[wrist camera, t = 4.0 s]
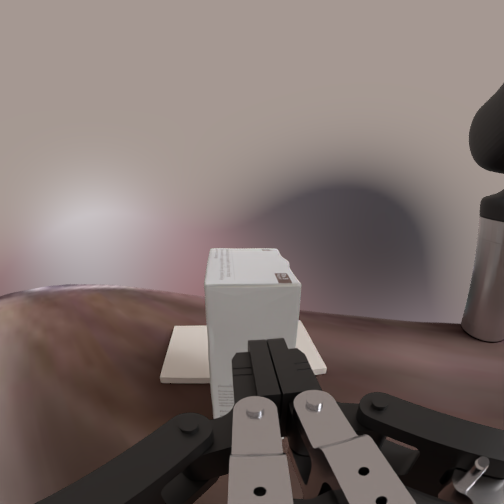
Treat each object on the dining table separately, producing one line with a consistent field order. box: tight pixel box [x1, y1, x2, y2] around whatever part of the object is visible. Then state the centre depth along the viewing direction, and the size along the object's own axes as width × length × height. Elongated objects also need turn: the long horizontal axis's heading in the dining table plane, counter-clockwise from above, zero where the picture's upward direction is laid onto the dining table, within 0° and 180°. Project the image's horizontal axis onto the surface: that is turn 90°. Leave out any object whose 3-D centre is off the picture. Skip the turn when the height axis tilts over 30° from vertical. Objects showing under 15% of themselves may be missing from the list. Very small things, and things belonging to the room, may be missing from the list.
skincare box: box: [204, 248, 301, 440], centre depth 22 cm, size 8×6×15 cm
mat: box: [160, 320, 327, 383], centre depth 34 cm, size 18×12×1 cm, turn 96°
